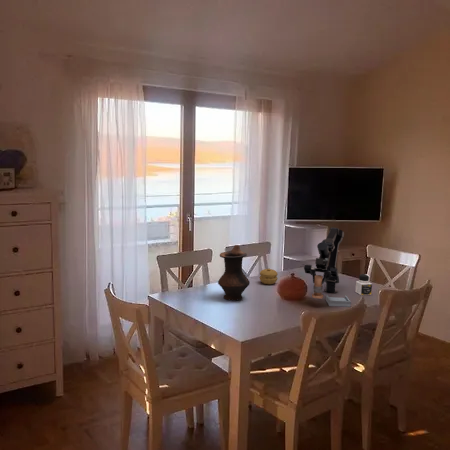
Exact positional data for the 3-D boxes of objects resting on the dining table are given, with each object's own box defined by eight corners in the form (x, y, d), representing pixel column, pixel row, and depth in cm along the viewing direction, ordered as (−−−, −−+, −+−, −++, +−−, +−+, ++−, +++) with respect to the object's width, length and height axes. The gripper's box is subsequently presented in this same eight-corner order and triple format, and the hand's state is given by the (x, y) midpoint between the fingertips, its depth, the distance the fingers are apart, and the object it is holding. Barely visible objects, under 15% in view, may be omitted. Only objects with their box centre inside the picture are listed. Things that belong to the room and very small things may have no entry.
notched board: (325, 299, 295) (325, 294, 294) (346, 300, 294) (346, 295, 294) (329, 306, 283) (329, 300, 282) (350, 306, 283) (350, 301, 282)
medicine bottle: (361, 295, 305) (362, 276, 303) (355, 292, 312) (356, 273, 310) (371, 294, 307) (372, 275, 305) (365, 291, 314) (366, 272, 312)
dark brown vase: (246, 304, 281) (248, 252, 277) (214, 301, 285) (215, 250, 280) (252, 294, 302) (253, 245, 297) (222, 291, 305) (223, 243, 301)
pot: (257, 284, 323) (257, 269, 321) (261, 280, 334) (262, 265, 333) (275, 286, 320) (276, 271, 318) (278, 282, 331) (279, 267, 329)
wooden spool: (310, 295, 284) (311, 274, 282) (320, 295, 285) (322, 274, 283) (314, 298, 278) (315, 277, 276) (325, 298, 279) (326, 277, 277)
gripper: (305, 250, 285) (299, 273, 277) (338, 254, 277) (332, 278, 269) (308, 261, 293) (302, 284, 285) (340, 265, 285) (335, 288, 277)
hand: (317, 283), depth 279 cm, fingers closed on wooden spool, 4 cm apart
